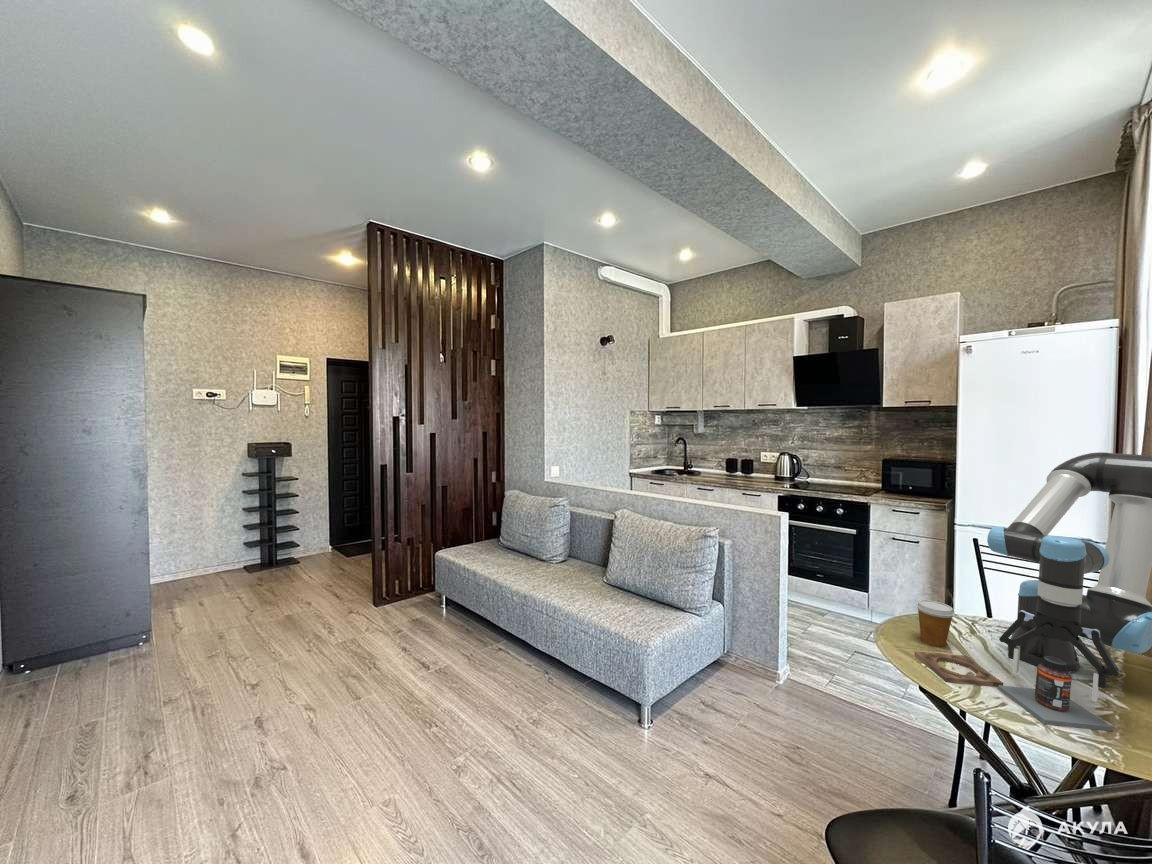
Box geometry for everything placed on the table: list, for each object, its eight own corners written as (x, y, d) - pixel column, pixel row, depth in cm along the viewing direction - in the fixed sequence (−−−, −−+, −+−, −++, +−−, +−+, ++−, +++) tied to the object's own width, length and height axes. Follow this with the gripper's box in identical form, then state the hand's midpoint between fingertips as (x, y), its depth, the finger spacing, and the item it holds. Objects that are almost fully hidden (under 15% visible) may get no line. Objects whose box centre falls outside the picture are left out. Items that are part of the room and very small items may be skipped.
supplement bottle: (1067, 715, 109) (1070, 669, 109) (1032, 702, 114) (1035, 658, 113) (1071, 706, 113) (1074, 661, 112) (1037, 694, 117) (1040, 651, 117)
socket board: (965, 659, 136) (966, 655, 136) (1003, 687, 122) (1003, 683, 122) (914, 655, 138) (914, 651, 138) (945, 682, 124) (946, 677, 124)
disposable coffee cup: (960, 650, 141) (962, 612, 141) (929, 649, 141) (931, 611, 141) (936, 635, 151) (938, 599, 150) (907, 634, 151) (909, 598, 150)
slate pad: (1057, 694, 119) (1057, 690, 119) (1112, 731, 106) (1113, 726, 106) (997, 688, 121) (998, 685, 121) (1044, 724, 107) (1044, 720, 107)
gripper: (1140, 615, 105) (1133, 705, 106) (994, 581, 124) (990, 658, 125) (1138, 623, 100) (1131, 718, 101) (988, 587, 120) (983, 667, 121)
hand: (1053, 685), depth 113 cm, fingers open, 13 cm apart
